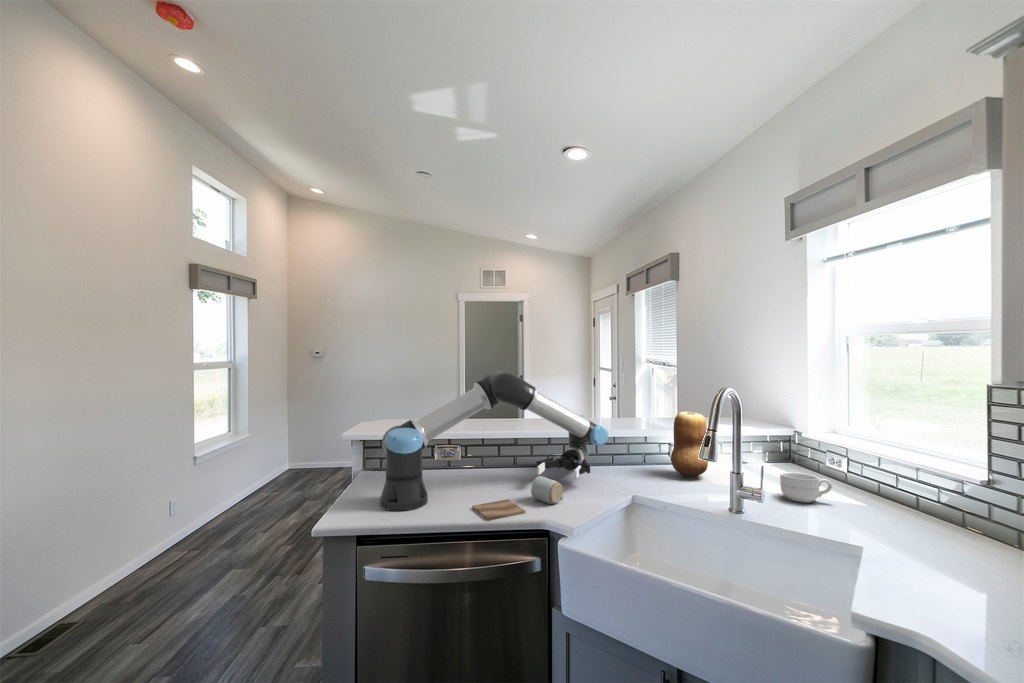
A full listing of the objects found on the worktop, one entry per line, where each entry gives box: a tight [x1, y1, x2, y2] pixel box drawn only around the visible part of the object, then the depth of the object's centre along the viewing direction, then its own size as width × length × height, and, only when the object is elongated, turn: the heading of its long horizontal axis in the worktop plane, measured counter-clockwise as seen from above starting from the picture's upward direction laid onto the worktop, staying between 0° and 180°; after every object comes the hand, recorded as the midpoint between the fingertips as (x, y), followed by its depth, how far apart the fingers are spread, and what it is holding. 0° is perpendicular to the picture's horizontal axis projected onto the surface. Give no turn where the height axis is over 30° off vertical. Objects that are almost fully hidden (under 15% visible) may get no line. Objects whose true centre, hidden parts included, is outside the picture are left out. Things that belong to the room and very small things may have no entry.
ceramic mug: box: [530, 475, 565, 505], centre depth 142 cm, size 11×8×8 cm
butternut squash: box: [669, 411, 709, 478], centre depth 168 cm, size 14×13×25 cm
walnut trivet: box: [472, 499, 526, 522], centre depth 133 cm, size 12×13×1 cm
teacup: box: [779, 472, 833, 503], centre depth 139 cm, size 14×11×8 cm
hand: (556, 472), depth 150 cm, fingers open, 13 cm apart
